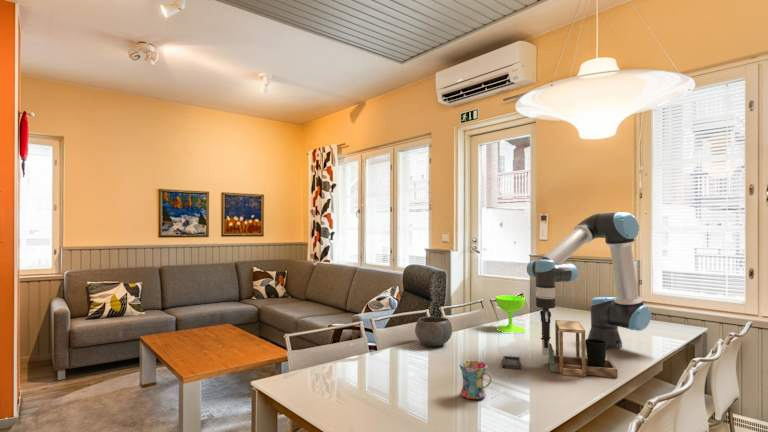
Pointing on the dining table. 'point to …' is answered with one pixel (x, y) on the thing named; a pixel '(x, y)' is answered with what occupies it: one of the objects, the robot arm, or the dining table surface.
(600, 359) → the cup
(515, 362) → the tray
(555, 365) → the sled
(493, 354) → the dining table surface
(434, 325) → the bowl
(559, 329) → the brown wooden frame
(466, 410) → the dining table surface
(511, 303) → the wineglass
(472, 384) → the mug
